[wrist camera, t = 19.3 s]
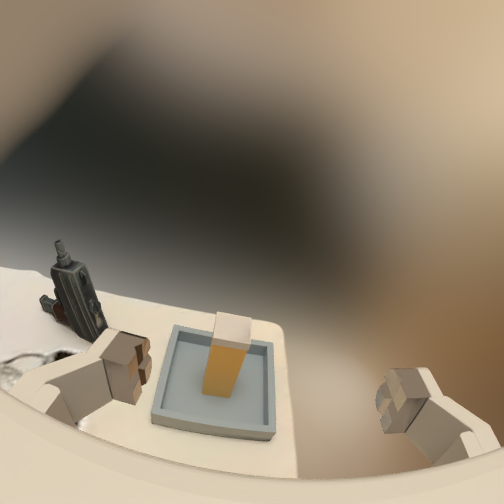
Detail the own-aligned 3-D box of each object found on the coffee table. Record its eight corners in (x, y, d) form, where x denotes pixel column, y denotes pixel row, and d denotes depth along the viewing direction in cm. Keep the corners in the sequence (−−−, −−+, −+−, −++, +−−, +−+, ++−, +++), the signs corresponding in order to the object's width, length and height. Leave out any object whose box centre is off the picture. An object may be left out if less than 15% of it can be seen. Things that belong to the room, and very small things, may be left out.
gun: (25, 232, 38) (82, 239, 34) (56, 315, 46) (115, 335, 42) (13, 240, 35) (69, 248, 32) (47, 323, 43) (106, 346, 40)
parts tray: (152, 423, 34) (150, 413, 32) (173, 338, 47) (174, 324, 45) (268, 441, 35) (276, 432, 33) (267, 355, 49) (273, 342, 47)
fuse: (200, 394, 39) (213, 337, 32) (204, 371, 42) (217, 311, 35) (230, 399, 39) (250, 344, 32) (231, 375, 43) (251, 317, 36)
